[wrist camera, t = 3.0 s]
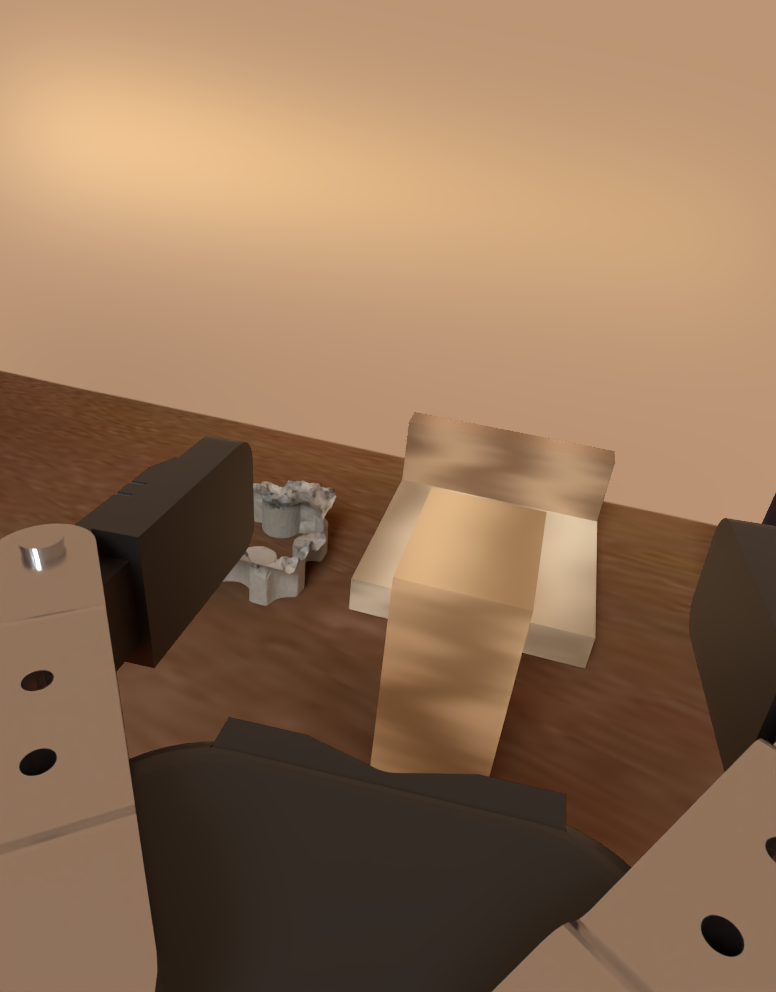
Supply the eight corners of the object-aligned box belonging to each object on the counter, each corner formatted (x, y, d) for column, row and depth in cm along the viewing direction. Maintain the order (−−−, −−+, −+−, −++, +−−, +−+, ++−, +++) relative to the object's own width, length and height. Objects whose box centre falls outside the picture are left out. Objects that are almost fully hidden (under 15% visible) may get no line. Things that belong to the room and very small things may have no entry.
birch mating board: (349, 608, 36) (356, 511, 32) (404, 495, 45) (414, 412, 42) (585, 668, 33) (617, 570, 30) (589, 535, 43) (614, 451, 40)
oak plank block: (369, 774, 27) (392, 577, 22) (405, 669, 32) (431, 487, 27) (481, 807, 27) (533, 610, 21) (500, 694, 32) (546, 512, 26)
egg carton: (342, 547, 41) (346, 487, 38) (282, 626, 34) (283, 560, 32) (185, 499, 43) (182, 441, 41) (104, 565, 37) (94, 501, 35)
